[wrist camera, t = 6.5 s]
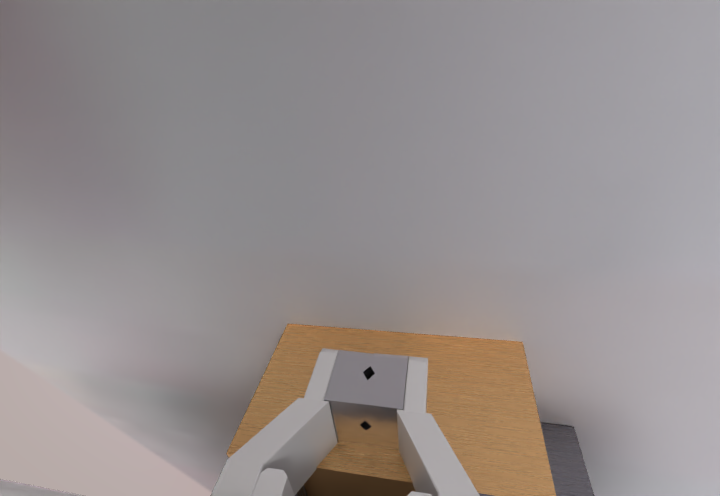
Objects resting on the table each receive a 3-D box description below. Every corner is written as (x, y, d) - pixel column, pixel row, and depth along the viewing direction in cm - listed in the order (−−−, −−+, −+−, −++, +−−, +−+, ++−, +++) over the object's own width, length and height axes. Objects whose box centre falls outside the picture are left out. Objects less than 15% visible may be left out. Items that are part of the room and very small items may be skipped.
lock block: (290, 317, 14) (219, 469, 9) (521, 334, 12) (562, 526, 8) (324, 447, 19) (287, 586, 14) (491, 472, 17) (506, 636, 13)
